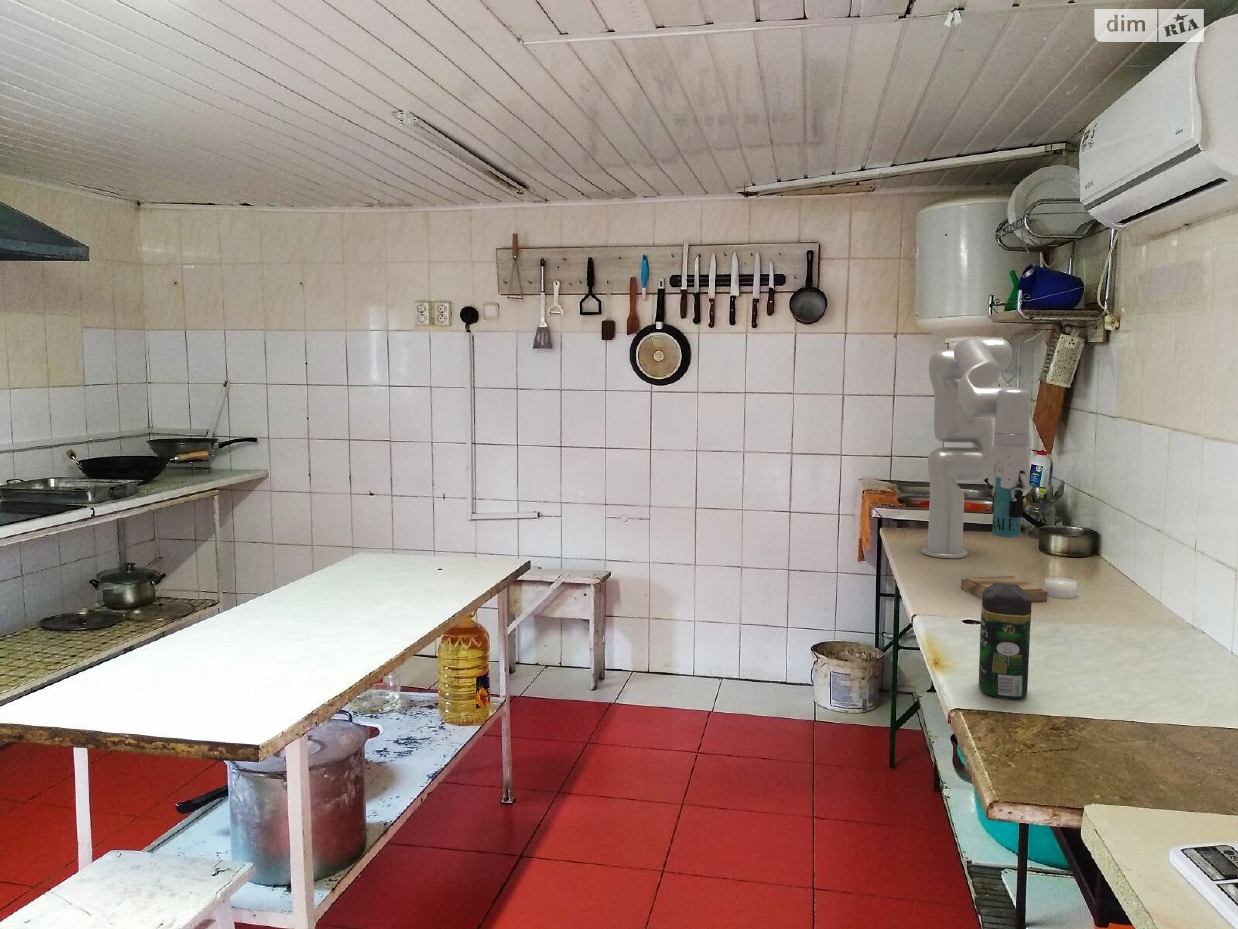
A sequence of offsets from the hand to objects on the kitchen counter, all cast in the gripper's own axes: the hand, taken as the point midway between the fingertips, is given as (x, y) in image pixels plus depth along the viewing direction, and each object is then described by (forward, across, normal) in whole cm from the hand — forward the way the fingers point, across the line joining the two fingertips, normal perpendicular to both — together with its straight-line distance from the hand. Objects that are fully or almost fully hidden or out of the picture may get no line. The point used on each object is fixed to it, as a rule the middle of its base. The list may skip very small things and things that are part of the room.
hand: (1007, 514), depth 213 cm
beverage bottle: (+7, 0, 0) cm, 7 cm away
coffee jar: (+20, +57, -36) cm, 70 cm away
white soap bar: (+20, +2, +14) cm, 25 cm away
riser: (+20, 0, 0) cm, 20 cm away
